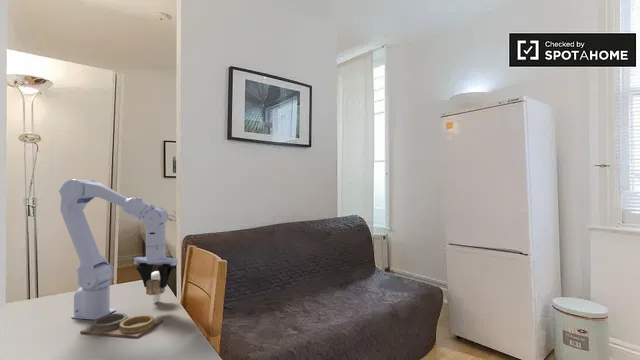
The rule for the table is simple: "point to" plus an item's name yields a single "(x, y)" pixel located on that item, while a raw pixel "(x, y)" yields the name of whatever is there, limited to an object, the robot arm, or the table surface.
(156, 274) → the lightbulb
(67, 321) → the table surface
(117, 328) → the gear board
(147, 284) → the gear
